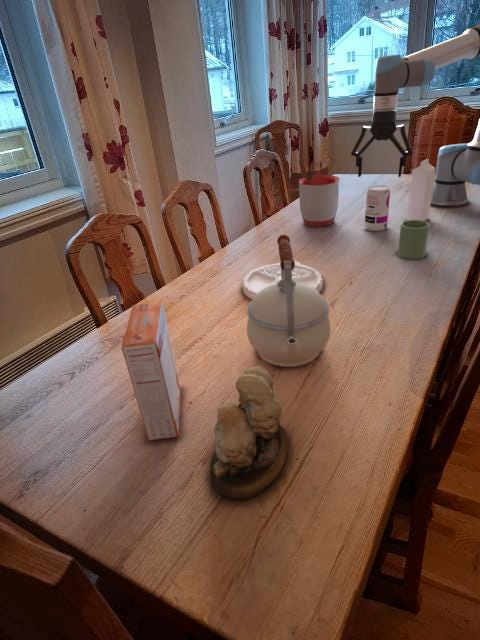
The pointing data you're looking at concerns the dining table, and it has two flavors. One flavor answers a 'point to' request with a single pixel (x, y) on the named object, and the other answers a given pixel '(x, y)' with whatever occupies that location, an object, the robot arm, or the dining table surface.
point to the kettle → (288, 317)
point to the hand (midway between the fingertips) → (379, 176)
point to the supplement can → (377, 208)
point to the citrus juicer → (319, 199)
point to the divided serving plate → (272, 275)
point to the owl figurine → (249, 439)
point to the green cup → (413, 239)
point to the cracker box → (153, 370)
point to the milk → (421, 191)
